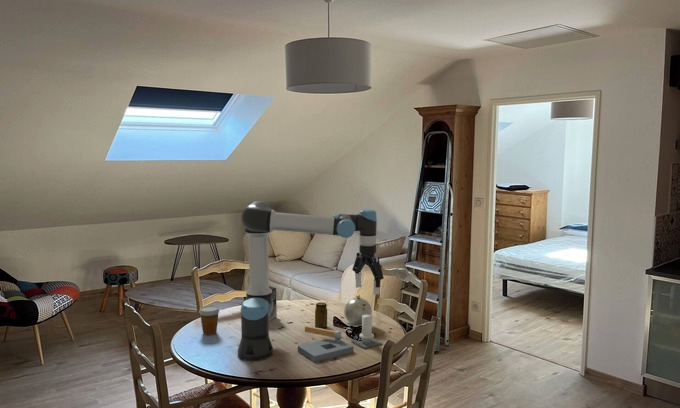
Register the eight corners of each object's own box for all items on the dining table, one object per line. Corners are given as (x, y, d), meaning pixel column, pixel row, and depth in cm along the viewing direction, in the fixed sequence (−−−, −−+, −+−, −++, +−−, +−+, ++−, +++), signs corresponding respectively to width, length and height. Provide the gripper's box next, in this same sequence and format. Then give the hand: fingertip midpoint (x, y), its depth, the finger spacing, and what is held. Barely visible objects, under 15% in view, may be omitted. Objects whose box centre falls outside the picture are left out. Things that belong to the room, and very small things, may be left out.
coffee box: (267, 315, 291) (267, 285, 289) (277, 317, 288) (276, 287, 286) (255, 319, 284) (255, 289, 282) (264, 322, 280) (264, 291, 278)
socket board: (314, 361, 231) (314, 353, 231) (297, 351, 243) (297, 342, 242) (353, 351, 242) (353, 343, 242) (335, 342, 254) (335, 333, 253)
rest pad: (364, 349, 245) (364, 347, 245) (351, 342, 254) (351, 340, 254) (382, 344, 251) (382, 342, 251) (368, 337, 259) (368, 336, 259)
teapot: (377, 329, 271) (377, 297, 269) (352, 333, 265) (352, 300, 263) (360, 318, 287) (360, 287, 285) (336, 322, 281) (336, 290, 279)
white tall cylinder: (365, 345, 248) (365, 319, 246) (356, 340, 253) (356, 315, 252) (376, 342, 251) (377, 316, 250) (368, 338, 257) (368, 313, 255)
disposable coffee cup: (201, 337, 258) (200, 312, 257) (197, 331, 267) (197, 307, 266) (221, 334, 262) (221, 310, 261) (217, 328, 271) (217, 304, 270)
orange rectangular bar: (303, 332, 255) (303, 326, 254) (307, 330, 257) (307, 324, 257) (339, 339, 246) (339, 333, 246) (342, 337, 249) (342, 331, 248)
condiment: (322, 323, 278) (322, 300, 277) (333, 328, 272) (333, 304, 270) (310, 327, 274) (310, 303, 272) (321, 331, 267) (321, 307, 266)
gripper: (392, 248, 239) (391, 295, 241) (358, 239, 259) (357, 283, 262) (378, 250, 234) (377, 298, 237) (345, 240, 255) (344, 285, 257)
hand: (367, 290), depth 249 cm, fingers open, 13 cm apart
